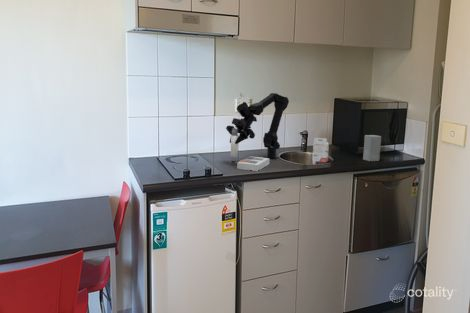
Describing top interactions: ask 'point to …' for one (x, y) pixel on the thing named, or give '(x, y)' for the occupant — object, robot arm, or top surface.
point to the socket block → (253, 163)
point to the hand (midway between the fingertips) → (232, 143)
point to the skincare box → (372, 148)
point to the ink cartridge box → (320, 150)
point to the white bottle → (234, 146)
